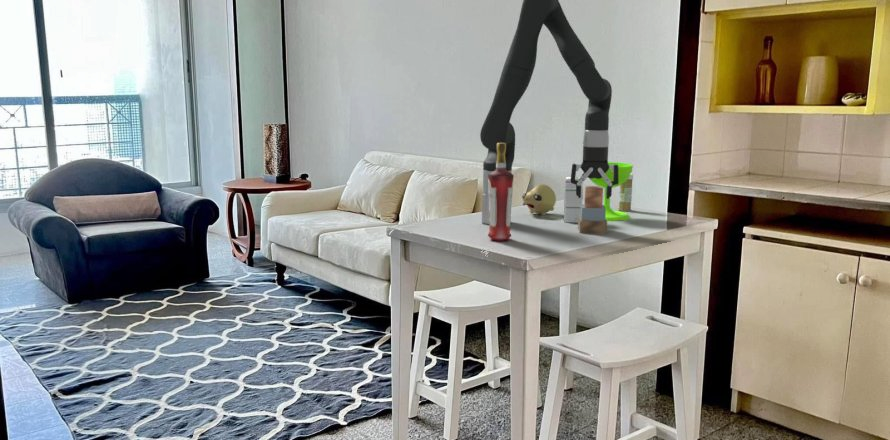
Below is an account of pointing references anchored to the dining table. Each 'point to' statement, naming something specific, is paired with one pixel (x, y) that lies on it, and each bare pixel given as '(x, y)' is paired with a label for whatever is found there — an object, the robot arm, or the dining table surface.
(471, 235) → the dining table surface
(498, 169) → the liquor
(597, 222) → the walnut slab
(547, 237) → the dining table surface
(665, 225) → the dining table surface
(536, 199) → the beige round toy
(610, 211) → the wineglass
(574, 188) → the syrup box
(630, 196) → the sprinkles bottle
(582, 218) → the slate block
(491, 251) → the dining table surface
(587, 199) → the terracotta cube
